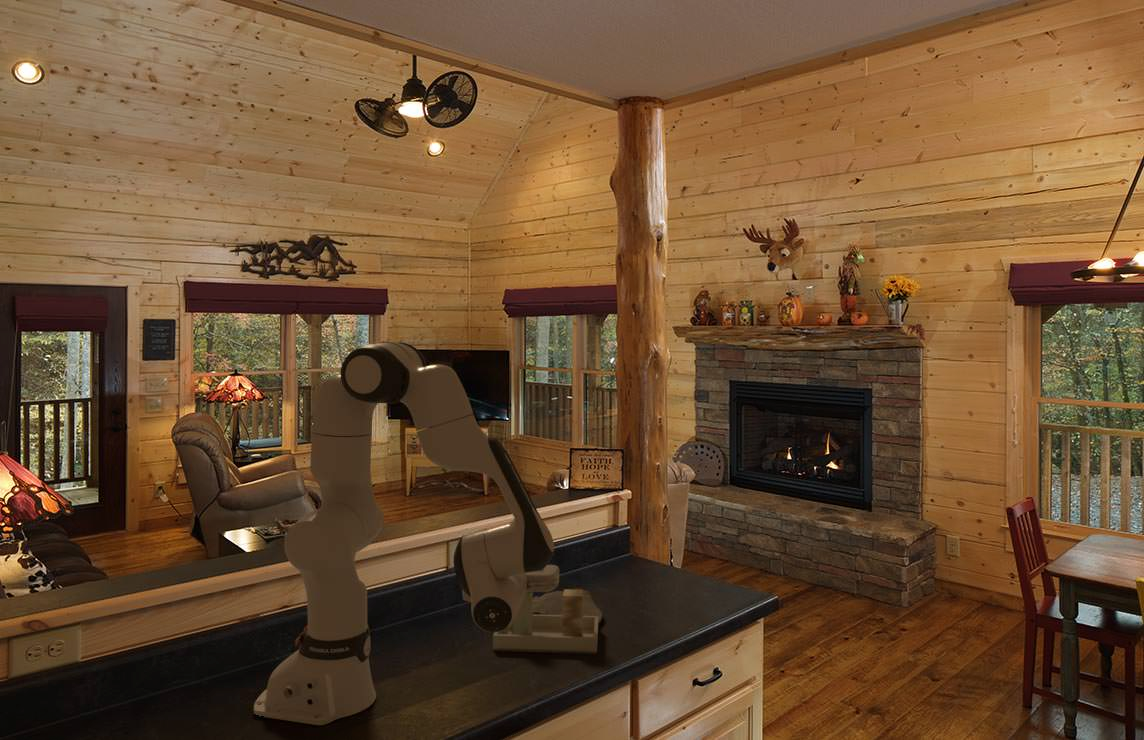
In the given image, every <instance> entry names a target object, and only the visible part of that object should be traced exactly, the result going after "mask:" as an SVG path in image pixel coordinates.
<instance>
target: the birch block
mask: <svg viewBox="0 0 1144 740" xmlns="http://www.w3.org/2000/svg"><path fill="white" fill-rule="evenodd" d="M583 590H584V589H582V590H572V589H566V588H565V589H563V591H564V593H563V636H572V637H583Z"/></svg>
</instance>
